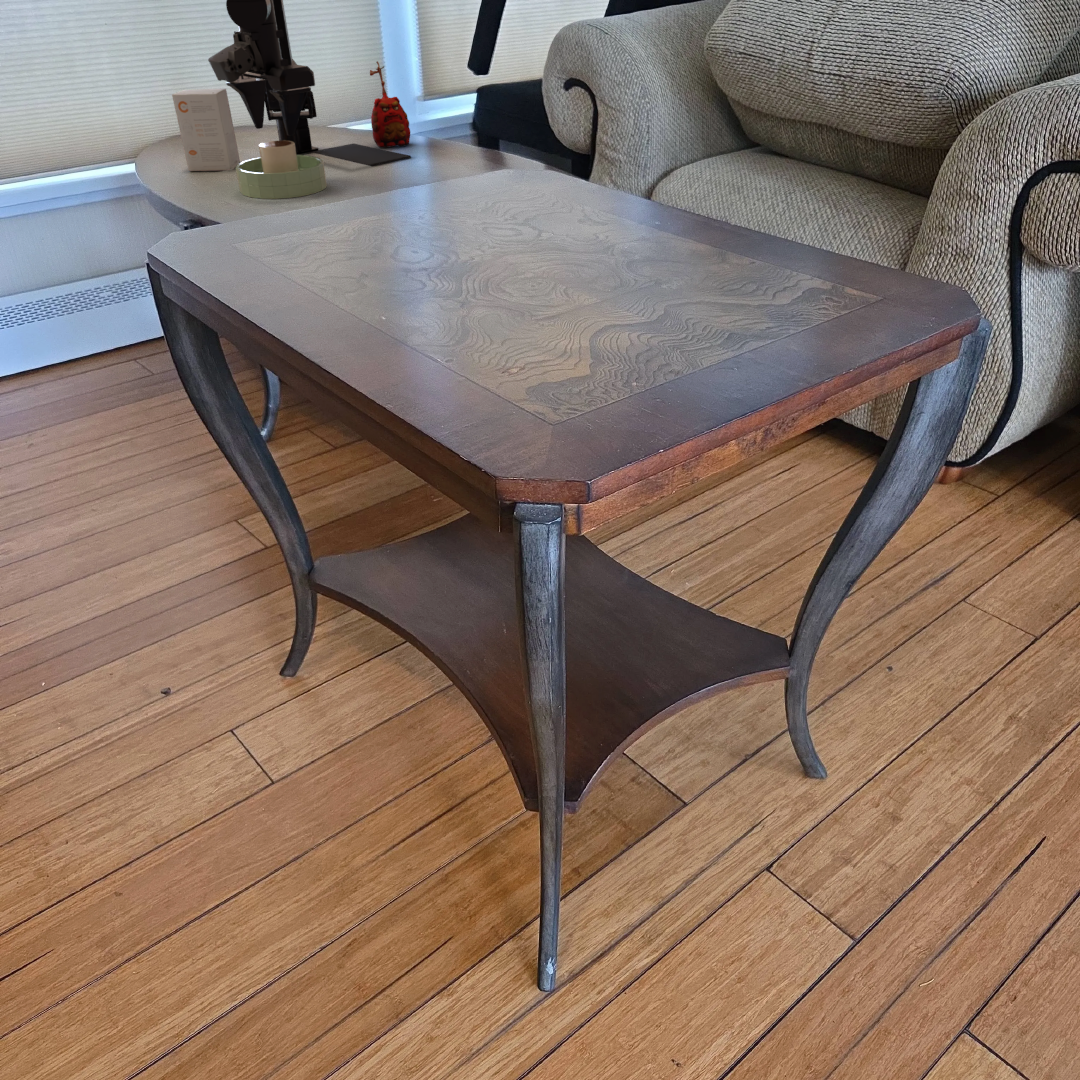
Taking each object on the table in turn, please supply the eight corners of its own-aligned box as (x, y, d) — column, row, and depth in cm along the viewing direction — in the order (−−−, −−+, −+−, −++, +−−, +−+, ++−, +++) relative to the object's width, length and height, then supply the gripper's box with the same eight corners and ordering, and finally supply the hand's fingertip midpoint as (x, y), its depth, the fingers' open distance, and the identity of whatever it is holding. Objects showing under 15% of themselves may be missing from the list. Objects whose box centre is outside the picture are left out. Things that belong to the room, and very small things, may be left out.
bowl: (224, 193, 158) (219, 165, 156) (295, 178, 167) (291, 151, 164) (271, 207, 150) (266, 178, 147) (343, 190, 158) (340, 162, 156)
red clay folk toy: (380, 150, 185) (372, 66, 176) (367, 144, 190) (358, 62, 182) (416, 146, 188) (409, 62, 180) (402, 140, 193) (395, 59, 185)
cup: (259, 188, 158) (251, 144, 154) (288, 182, 161) (281, 138, 157) (278, 194, 154) (271, 148, 151) (308, 187, 158) (301, 143, 154)
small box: (241, 163, 177) (227, 87, 170) (231, 171, 172) (216, 93, 165) (198, 164, 177) (182, 88, 170) (187, 171, 172) (171, 94, 165)
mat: (295, 157, 181) (294, 154, 181) (353, 145, 189) (353, 143, 189) (351, 170, 171) (351, 168, 170) (410, 157, 179) (410, 155, 179)
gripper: (179, 24, 145) (200, 132, 154) (244, 31, 134) (263, 147, 143) (242, 18, 152) (259, 122, 160) (309, 25, 141) (324, 136, 149)
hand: (274, 131), depth 153 cm, fingers open, 9 cm apart
